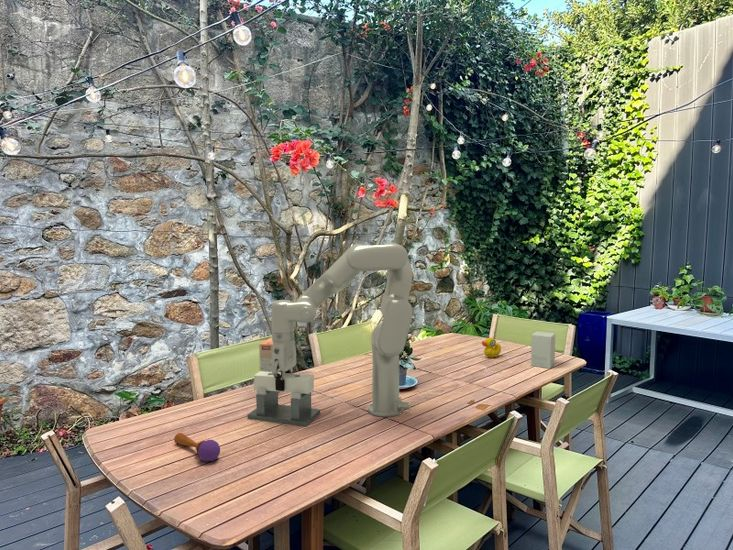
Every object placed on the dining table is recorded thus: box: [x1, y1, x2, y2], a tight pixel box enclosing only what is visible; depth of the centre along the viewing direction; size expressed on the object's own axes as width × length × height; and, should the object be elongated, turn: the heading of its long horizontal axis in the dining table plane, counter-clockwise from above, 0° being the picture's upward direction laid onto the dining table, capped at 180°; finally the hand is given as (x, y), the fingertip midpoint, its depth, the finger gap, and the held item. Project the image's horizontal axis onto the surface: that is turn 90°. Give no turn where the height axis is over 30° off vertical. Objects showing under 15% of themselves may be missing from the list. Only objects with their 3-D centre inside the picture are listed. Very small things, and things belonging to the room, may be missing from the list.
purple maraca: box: [173, 432, 221, 463], centre depth 153 cm, size 6×6×20 cm
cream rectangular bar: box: [253, 370, 315, 394], centre depth 180 cm, size 20×5×5 cm, turn 76°
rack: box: [246, 388, 321, 428], centre depth 181 cm, size 22×12×10 cm, turn 72°
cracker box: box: [259, 336, 281, 393], centre depth 206 cm, size 14×6×21 cm, turn 168°
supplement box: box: [530, 330, 556, 369], centre depth 243 cm, size 9×9×15 cm
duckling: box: [481, 337, 502, 359], centre depth 256 cm, size 11×5×10 cm, turn 118°
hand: (284, 387), depth 180 cm, fingers closed on cream rectangular bar, 5 cm apart
